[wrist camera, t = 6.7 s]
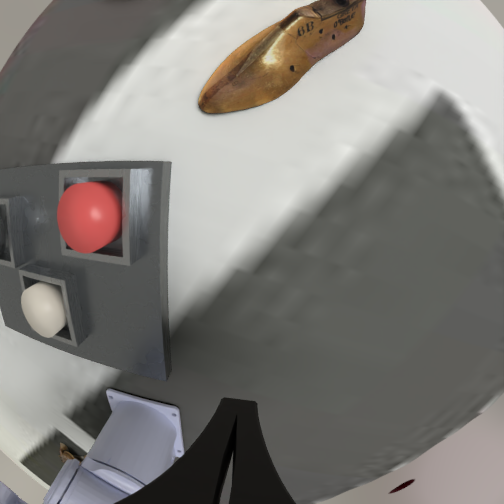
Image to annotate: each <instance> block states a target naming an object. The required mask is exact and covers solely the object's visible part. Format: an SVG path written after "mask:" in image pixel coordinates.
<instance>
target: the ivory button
mask: <svg viewBox="0 0 504 504" xmlns="http://www.w3.org/2000/svg"><path fill="white" fill-rule="evenodd" d="M21 305H22V310H23V313H24V315H25V317H26V319H27V321H28V323H29V324H30V326H31V327H32V328H33V329H34V330H35V331H36V332H37V333H38V334H40V335H41V336H43V337H47V338H50V337H53V336H54V335H55V334H56V333H57V332H59V331H60V330H61V329H62V328H63V327H64V326H66V325H67V324H68V321H67V316H66V311H65V306H64V300H63V295H62V288H61V286H60V285H56V284H52V283H48V282H44V281H39V282H38V283H36V284H34V285H32V286H31V287H29V288H27V289H26V290H24V292H23V293H22V296H21Z"/></svg>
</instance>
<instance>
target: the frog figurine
mask: <svg viewBox="0 0 504 504" xmlns="http://www.w3.org/2000/svg"><path fill="white" fill-rule="evenodd" d="M60 445H61V447H60V456H61V457H60V456H59V457H60V459H61V461H62V462H63V463H65V462H66V461H67V460H69V459H72V460H73V459H77V460H78V461H79V462H80V463H81V462H82V461H83V459H84V458H85V457H86V455H85V457H82V456H78V455H72V454H71V453H69V452H67V450H68V451H69V449H68V447H67V446H66V445H64V444H62V443H60ZM64 451H65V452H64ZM80 463H79V465H80Z"/></svg>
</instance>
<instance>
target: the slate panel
mask: <svg viewBox="0 0 504 504" xmlns="http://www.w3.org/2000/svg"><path fill="white" fill-rule="evenodd" d="M170 175H171V162H164V161H104V162H77V163H60V164H47V165H35V166H25V167H16V168H7V169H0V216H1V218H2V221H3V224H4V228H5V236H6V242H5V248H4V251H3V253H2V254H1V255H0V308H1V312H2V315H3V319H4V322H5V326H7V327H9V328H11V329H13V330H15V331H18V332H20V333H22V334H24V335H26V336H29V337H31V338H33V339H35V340H38V341H40V342H43V343H45V344H47V345H50V346H52V347H55V348H57V349H60V350H63V351H65V352H68V353H71V354H73V355H76V356H79V357H82V358H85V359H88V360H91V361H94V362H97V363H100V364H103V365H106V366H110V367H113V368H116V369H120V370H123V371H127V372H131V373H134V374H138V375H142V376H146V377H150V378H154V379H158V380H163V381H167V379H168V377H169V375H170V373H171V371H172V369H171V355H170V339H169V318H168V275H167V256H168V213H169V191H170ZM93 181H108V182H111V183H113V184H114V185H116V186H117V187H118V188H119V189H120V190H121V192H122V193H123V197H122V235H121V237H119V238H118V239H117V240H116V241H114V242H112V243H110V244H108V245H106V246H104V247H102V248H100V249H98V250H96V251H94V252H92V253H80V252H77V251H75V250H73V249H72V248H71V247H70V246H69V245H68V244H67V243H66V242H65V240H64V239H63V237H62V235H61V233H60V230H59V227H58V222H57V209H58V204H59V201H60V198H61V196H62V195H63V193H64V192H65V191H66V190H67V189H68V188H69V187H70V186H72V185H74V184H78V183H85V182H93ZM39 281H44V282H48V283H52V284H56V285H60V286H61V288H62V295H63V300H64V306H65V311H66V316H67V321H68V324H67V325H66V326H64V327H63V328H62V329H61V330H60V331H59V332H57V333H56V334H55V335H54V336H53V337H50V338H47V337H43V336H41V335H40V334H38V333H37V332H36V331H35V330H34V329H33V328H32V327H31V326H30V324H29V323H28V321H27V319H26V317H25V315H24V313H23V310H22V305H21V296H22V293H23V292H24V290H26V289H27V288H29V287H31V286H32V285H34V284H36V283H38V282H39Z"/></svg>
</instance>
